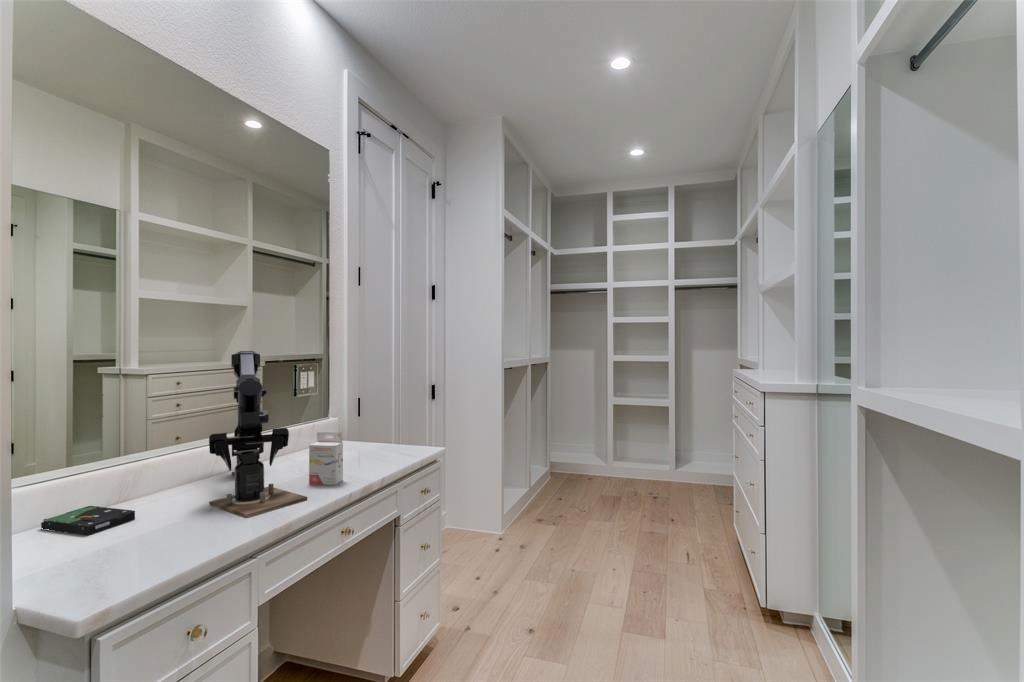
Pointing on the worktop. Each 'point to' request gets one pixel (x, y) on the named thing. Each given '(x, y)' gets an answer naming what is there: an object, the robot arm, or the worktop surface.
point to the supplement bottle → (249, 477)
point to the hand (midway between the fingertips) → (250, 467)
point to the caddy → (258, 502)
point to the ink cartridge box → (326, 459)
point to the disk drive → (88, 520)
